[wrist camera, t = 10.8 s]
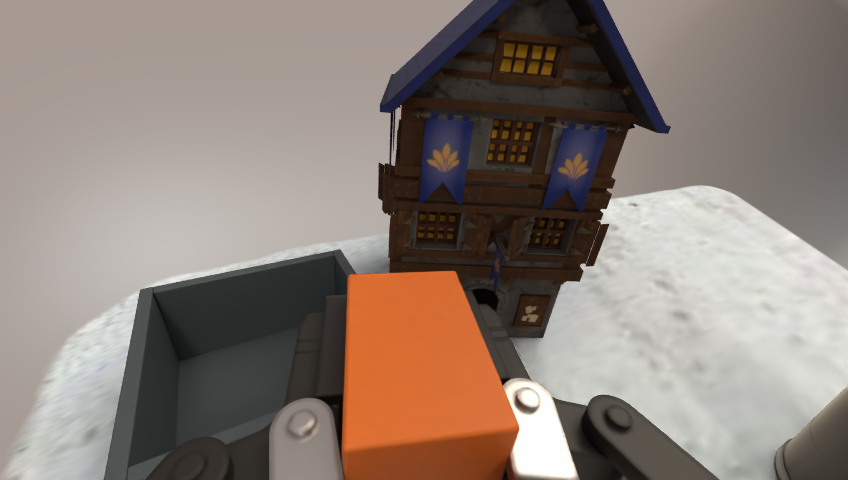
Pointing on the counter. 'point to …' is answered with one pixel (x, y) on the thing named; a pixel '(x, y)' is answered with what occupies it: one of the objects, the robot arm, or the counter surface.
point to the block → (420, 383)
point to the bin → (214, 356)
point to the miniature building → (511, 150)
